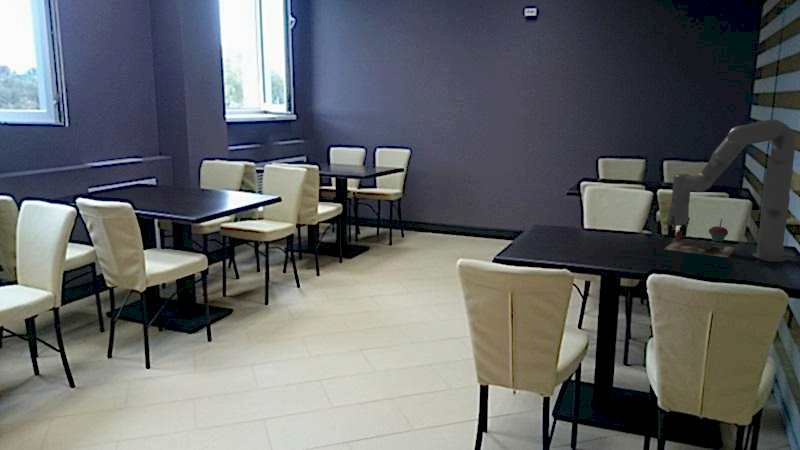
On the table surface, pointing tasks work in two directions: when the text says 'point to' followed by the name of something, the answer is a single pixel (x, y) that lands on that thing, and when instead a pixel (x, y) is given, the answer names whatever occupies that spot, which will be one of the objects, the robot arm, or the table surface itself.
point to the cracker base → (690, 249)
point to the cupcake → (718, 233)
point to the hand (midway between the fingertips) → (676, 236)
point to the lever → (680, 240)
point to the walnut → (706, 247)
